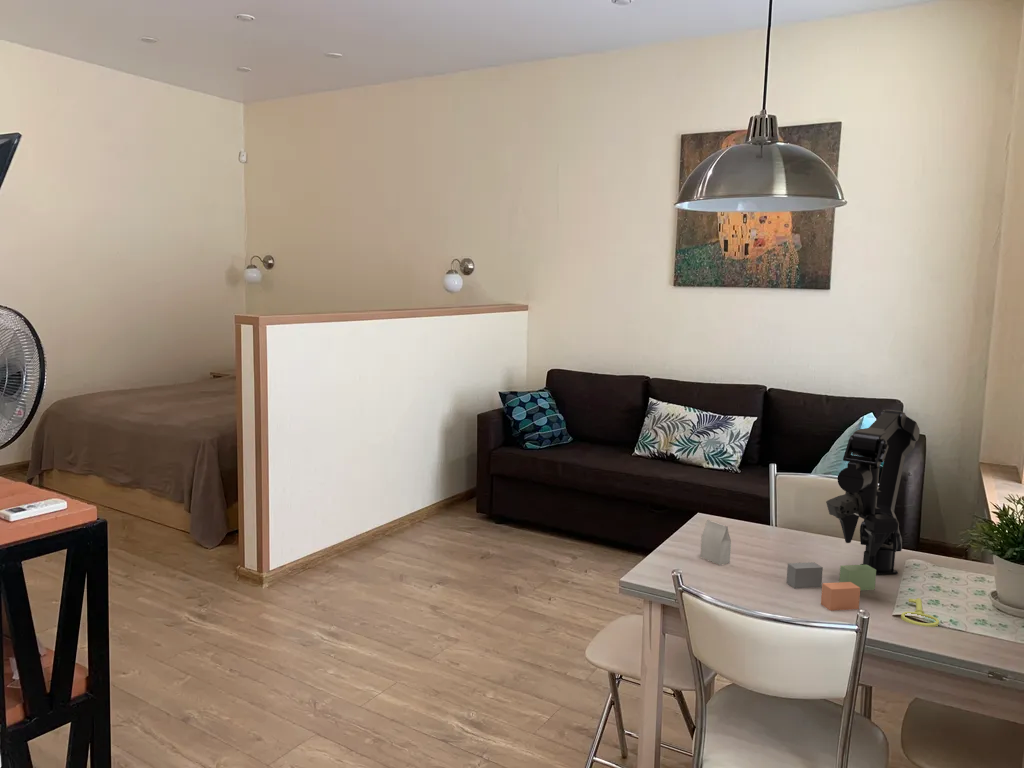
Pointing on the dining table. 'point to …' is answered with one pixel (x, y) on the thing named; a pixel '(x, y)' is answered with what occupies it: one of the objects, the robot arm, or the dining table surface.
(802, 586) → the gray brick
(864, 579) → the green brick
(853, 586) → the rust brick
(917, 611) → the key
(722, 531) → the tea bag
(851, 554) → the dining table surface
